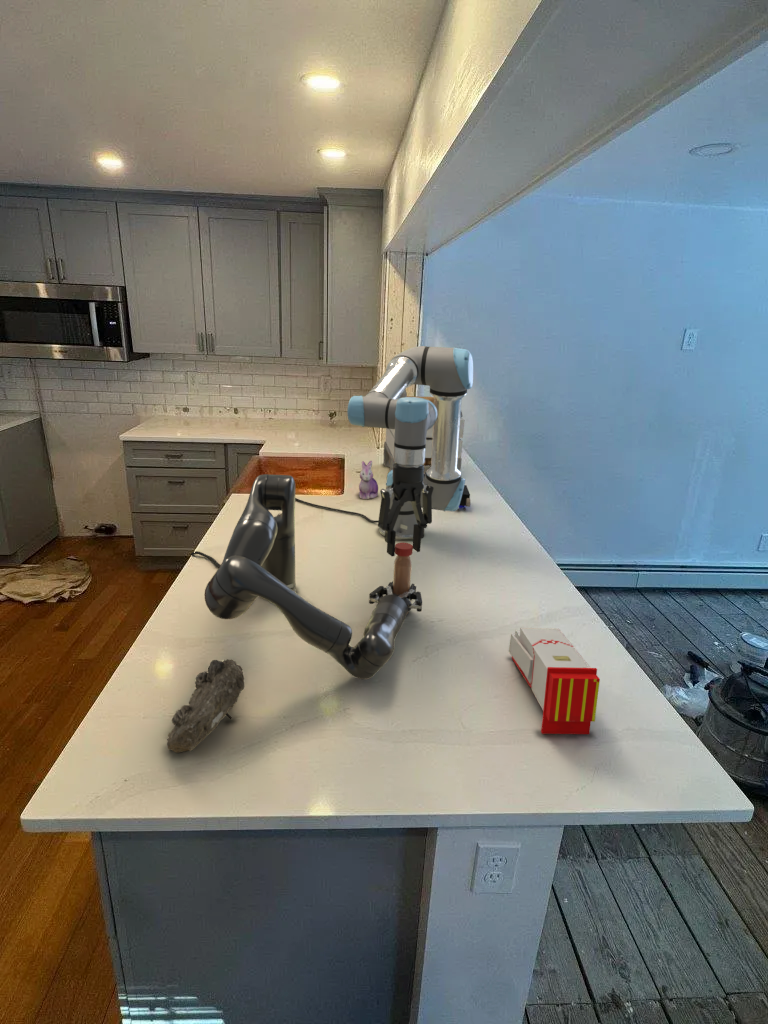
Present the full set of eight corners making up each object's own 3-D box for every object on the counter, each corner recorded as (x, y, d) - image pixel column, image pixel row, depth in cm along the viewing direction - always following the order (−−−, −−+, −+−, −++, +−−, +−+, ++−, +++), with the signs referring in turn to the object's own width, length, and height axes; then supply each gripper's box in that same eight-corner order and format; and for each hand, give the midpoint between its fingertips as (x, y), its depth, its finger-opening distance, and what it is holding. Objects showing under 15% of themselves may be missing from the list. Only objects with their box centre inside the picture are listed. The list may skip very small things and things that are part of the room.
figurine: (363, 500, 232) (364, 465, 227) (352, 493, 240) (353, 459, 235) (383, 498, 236) (385, 463, 231) (372, 491, 244) (373, 457, 239)
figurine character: (470, 515, 225) (465, 499, 238) (472, 498, 221) (467, 483, 235) (453, 515, 224) (449, 499, 238) (455, 497, 221) (451, 482, 234)
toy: (555, 612, 132) (609, 675, 103) (550, 665, 135) (600, 741, 106) (504, 611, 132) (543, 673, 102) (499, 664, 134) (536, 740, 105)
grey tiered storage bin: (382, 463, 289) (386, 382, 275) (445, 464, 293) (451, 384, 279) (390, 482, 257) (394, 392, 243) (460, 483, 261) (468, 394, 247)
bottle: (409, 608, 151) (413, 545, 144) (407, 616, 146) (411, 552, 140) (392, 606, 151) (396, 543, 145) (390, 614, 147) (393, 550, 141)
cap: (391, 551, 144) (391, 543, 143) (406, 548, 146) (406, 541, 145) (400, 557, 140) (400, 550, 140) (415, 554, 142) (416, 547, 142)
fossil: (192, 660, 117) (244, 628, 112) (224, 691, 120) (276, 661, 115) (142, 746, 98) (202, 712, 93) (182, 779, 101) (242, 748, 96)
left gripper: (358, 625, 136) (376, 593, 152) (416, 635, 133) (429, 602, 149) (359, 598, 134) (378, 568, 150) (418, 607, 131) (431, 576, 146)
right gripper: (435, 456, 143) (429, 541, 150) (364, 463, 134) (362, 552, 142) (451, 464, 136) (444, 551, 144) (379, 471, 128) (375, 564, 136)
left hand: (403, 585), depth 149 cm, fingers closed on bottle, 4 cm apart
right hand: (403, 551), depth 143 cm, fingers open, 7 cm apart
